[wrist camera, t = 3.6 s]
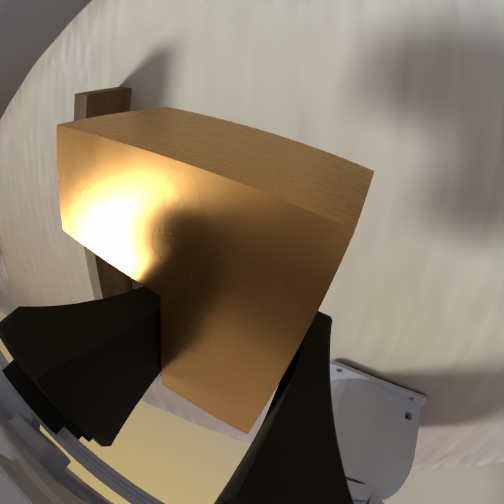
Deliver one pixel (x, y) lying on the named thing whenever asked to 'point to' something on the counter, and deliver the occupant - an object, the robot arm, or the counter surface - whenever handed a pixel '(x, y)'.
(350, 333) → the counter surface
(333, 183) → the l bracket
